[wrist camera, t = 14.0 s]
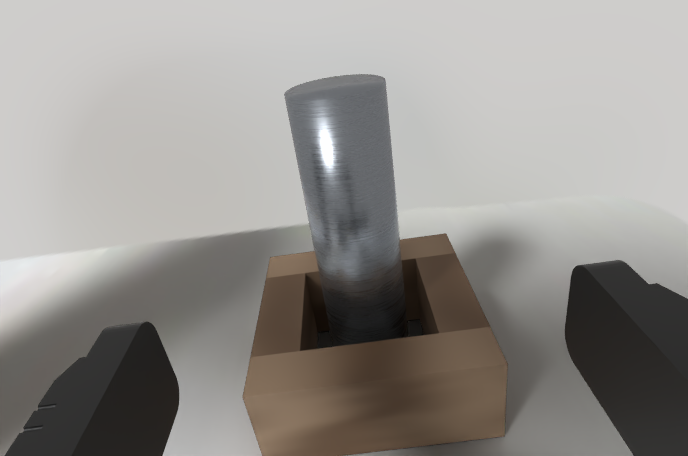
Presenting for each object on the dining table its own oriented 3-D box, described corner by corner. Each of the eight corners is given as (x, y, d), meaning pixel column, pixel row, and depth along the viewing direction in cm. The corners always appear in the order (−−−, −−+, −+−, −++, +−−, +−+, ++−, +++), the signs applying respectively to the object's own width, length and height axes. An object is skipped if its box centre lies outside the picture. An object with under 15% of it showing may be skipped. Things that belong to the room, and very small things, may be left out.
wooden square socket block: (265, 464, 17) (242, 397, 15) (284, 313, 24) (270, 257, 23) (504, 436, 16) (507, 364, 15) (448, 291, 24) (446, 233, 22)
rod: (338, 397, 19) (279, 105, 13) (336, 343, 22) (288, 83, 16) (416, 388, 19) (391, 89, 13) (404, 334, 22) (380, 70, 16)
